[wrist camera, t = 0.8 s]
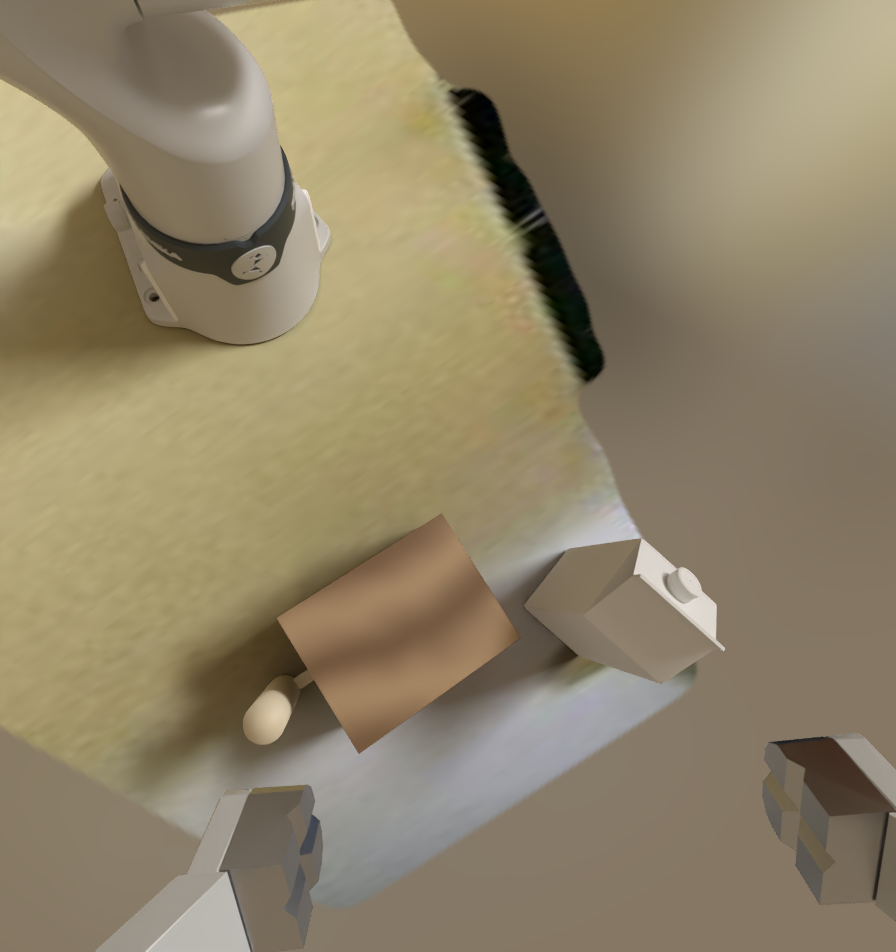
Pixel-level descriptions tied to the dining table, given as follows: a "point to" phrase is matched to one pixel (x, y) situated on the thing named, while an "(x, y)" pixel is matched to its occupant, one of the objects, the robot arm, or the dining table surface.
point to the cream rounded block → (274, 708)
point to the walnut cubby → (398, 631)
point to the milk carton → (627, 609)
